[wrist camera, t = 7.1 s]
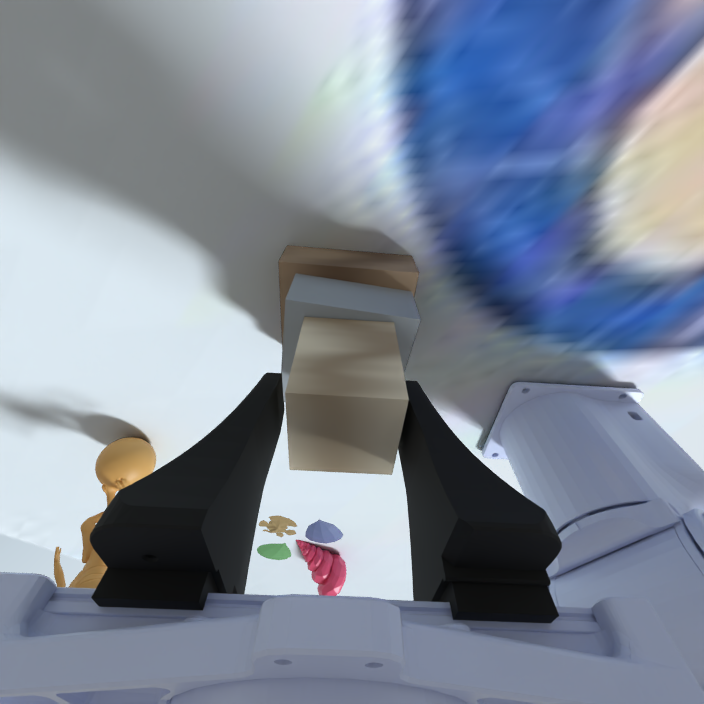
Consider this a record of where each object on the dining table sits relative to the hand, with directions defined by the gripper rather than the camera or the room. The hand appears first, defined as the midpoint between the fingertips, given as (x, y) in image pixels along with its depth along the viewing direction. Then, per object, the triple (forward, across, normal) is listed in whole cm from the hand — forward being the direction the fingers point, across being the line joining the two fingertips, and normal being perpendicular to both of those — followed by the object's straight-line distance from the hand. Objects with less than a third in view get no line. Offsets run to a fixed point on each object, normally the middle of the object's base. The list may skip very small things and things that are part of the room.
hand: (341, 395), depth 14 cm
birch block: (+3, 0, 0) cm, 3 cm away
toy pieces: (+9, +3, +30) cm, 31 cm away
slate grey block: (+6, 0, 0) cm, 6 cm away
